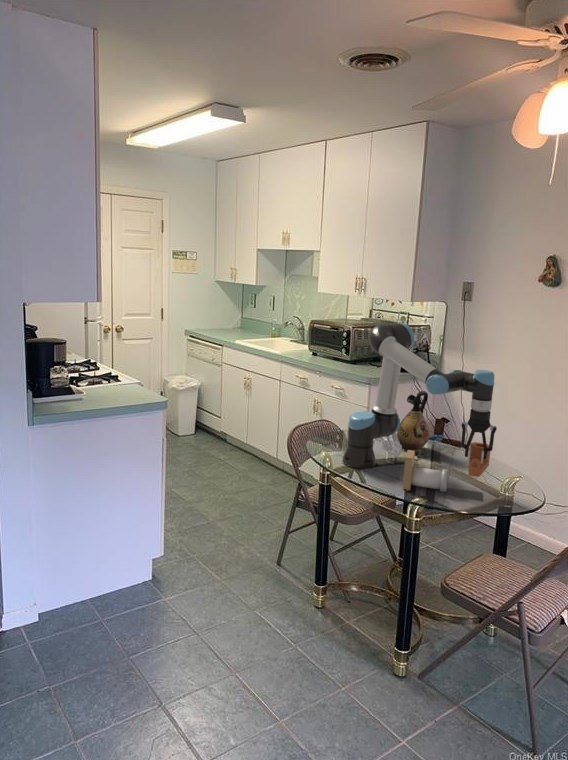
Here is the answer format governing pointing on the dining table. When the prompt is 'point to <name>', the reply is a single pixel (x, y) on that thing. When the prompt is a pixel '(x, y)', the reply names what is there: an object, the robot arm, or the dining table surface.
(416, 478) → the pipe stub
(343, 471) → the dining table surface
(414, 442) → the ceramic jug
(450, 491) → the gasket mat
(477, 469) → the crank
